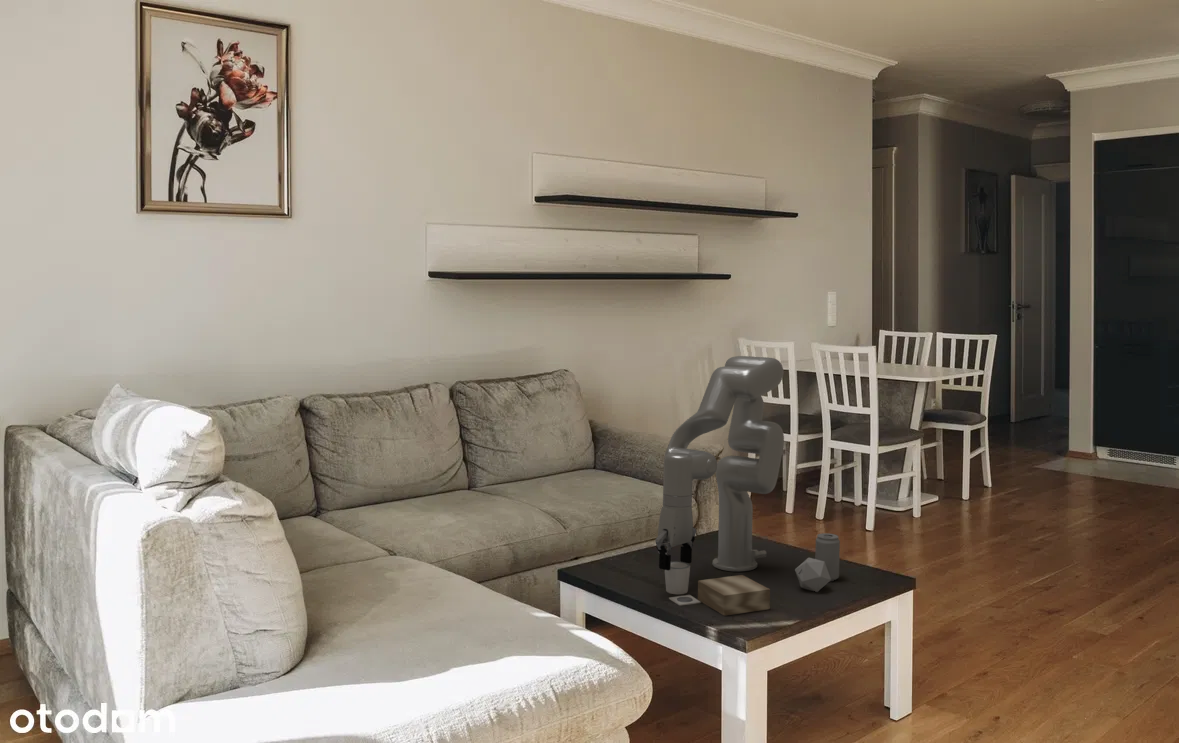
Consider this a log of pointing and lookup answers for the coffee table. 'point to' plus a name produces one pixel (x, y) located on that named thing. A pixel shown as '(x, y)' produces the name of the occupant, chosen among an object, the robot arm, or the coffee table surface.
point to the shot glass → (677, 578)
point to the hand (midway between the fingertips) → (675, 565)
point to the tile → (684, 600)
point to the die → (812, 574)
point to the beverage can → (828, 553)
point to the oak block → (733, 595)
